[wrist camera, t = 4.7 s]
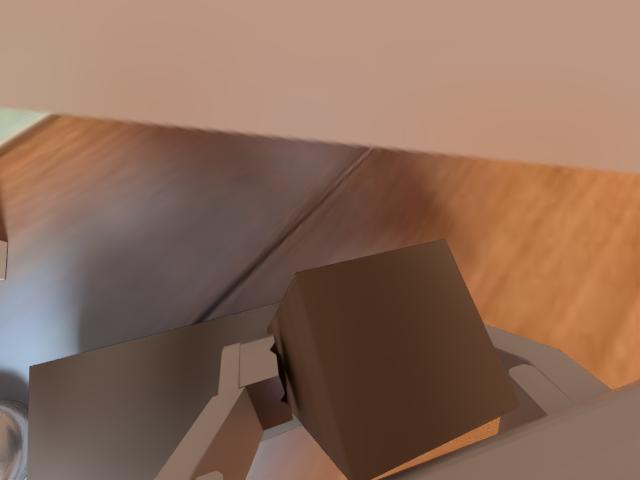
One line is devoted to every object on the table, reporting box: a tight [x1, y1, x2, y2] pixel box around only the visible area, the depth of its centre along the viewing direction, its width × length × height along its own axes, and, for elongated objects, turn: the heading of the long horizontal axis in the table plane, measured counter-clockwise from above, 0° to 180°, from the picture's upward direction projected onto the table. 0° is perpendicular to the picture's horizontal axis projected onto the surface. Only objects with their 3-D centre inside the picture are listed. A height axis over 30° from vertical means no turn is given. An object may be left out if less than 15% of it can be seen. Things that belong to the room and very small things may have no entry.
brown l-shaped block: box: [27, 239, 521, 480], centre depth 8 cm, size 12×5×10 cm, turn 107°
